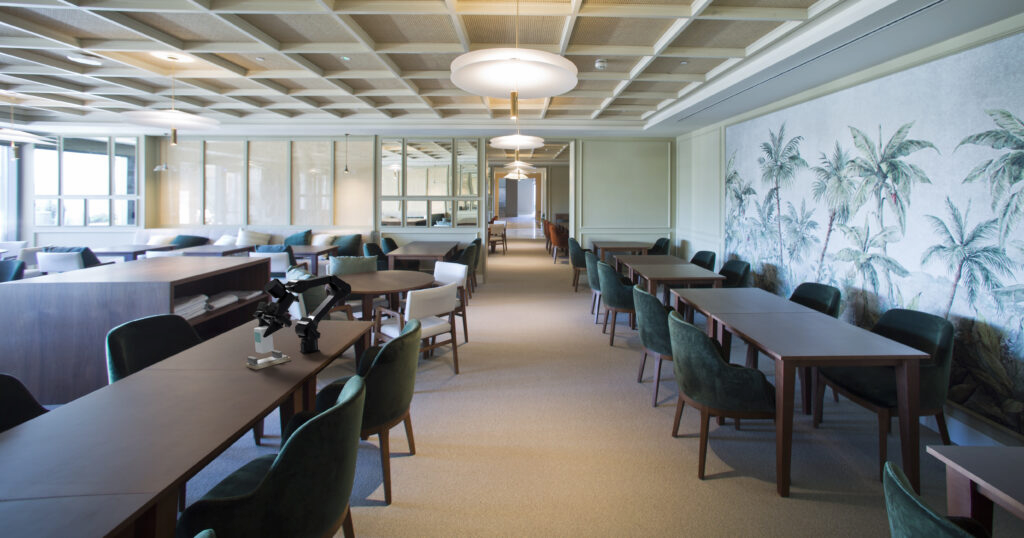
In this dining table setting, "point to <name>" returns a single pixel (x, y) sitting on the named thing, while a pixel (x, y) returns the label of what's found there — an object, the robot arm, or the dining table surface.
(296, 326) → the robot arm
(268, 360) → the rail board
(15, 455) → the dining table surface
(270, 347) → the block
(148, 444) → the dining table surface
